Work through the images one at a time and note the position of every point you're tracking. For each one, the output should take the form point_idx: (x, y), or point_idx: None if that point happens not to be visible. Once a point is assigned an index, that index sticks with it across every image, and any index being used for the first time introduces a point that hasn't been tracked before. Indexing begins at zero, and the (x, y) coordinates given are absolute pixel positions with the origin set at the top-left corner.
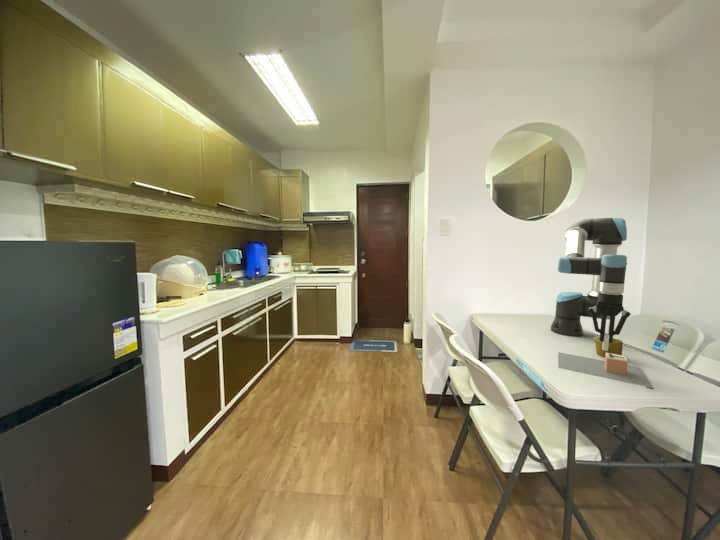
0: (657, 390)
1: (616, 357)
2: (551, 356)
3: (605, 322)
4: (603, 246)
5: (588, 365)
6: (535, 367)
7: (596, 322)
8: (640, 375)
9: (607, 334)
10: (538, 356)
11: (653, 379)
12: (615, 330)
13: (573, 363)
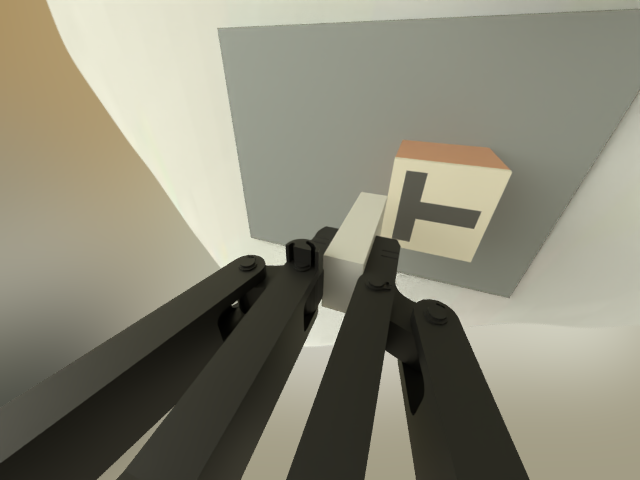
0: (517, 300)
1: (427, 229)
2: (213, 118)
3: (251, 443)
4: None
5: (335, 169)
6: (210, 249)
7: (182, 386)
8: (548, 189)
9: (347, 291)
10: (185, 149)
11: (604, 199)
12: (417, 336)
13: (285, 175)
